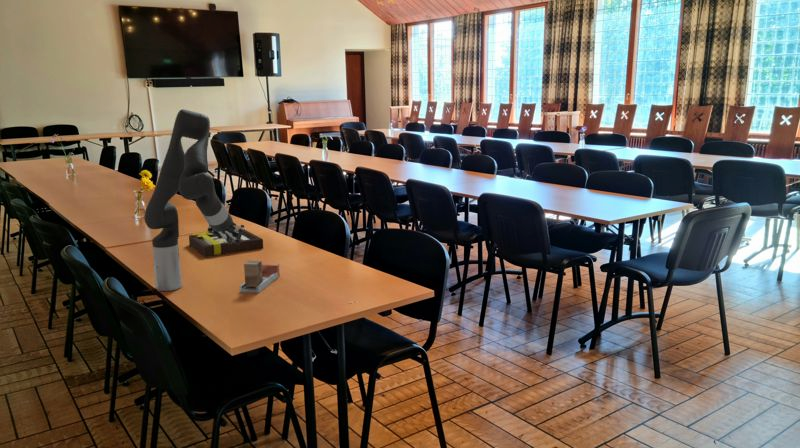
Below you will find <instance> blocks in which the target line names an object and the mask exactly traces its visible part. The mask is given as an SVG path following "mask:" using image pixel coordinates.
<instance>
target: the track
mask: <svg viewBox="0 0 800 448" xmlns="http://www.w3.org/2000/svg"><path fill="white" fill-rule="evenodd" d="M280 275H281V274H280V264H279V263H277V264H275V263H262V277H263V282H262V283H260V284H259V285H258V286H256V287H246V286H245V282H243V283H242V284H240V285H239V293H252V294H253V293H254V294H259V293H261V292H262V291H263V290H264V289H266V288H267V287H269V286H270V285H271V284H272V283H273V282H274V281H275V280H277V279H278V278H279V277H280Z"/></svg>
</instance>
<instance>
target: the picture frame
mask: <svg viewBox="0 0 800 448" xmlns="http://www.w3.org/2000/svg"><path fill="white" fill-rule="evenodd" d="M236 231H237V229H236ZM237 232H238V231H237ZM217 234H219V232H217ZM188 242H189V243H188V244H189V246H190V247H191V248H192V249H194V250H195V251H196V250H197V251H196V252H198V253H199V254H200V255H202V256H203V257H204V258H211V257H217V256H223V255H229V254H236V253H237V254H238V253H243V252H248V251H250V252H251V251H255V250H263V249H264V240H263V238H262V237H260V236H258V235H256V234H254V233H252V232H250V231H248V230H247V229H245V228H244V229H243V233H242V236H241V242H240V243H239V245H238V244H236V242H235V241H234V239H233V243H232V244H229V243H228V242H227V241H226V239H223V238H218V237H216V236H215V235H213V234H212V233H210V232H208V231H205V232H199V233H192V234H190V235H188Z"/></svg>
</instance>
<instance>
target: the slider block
mask: <svg viewBox="0 0 800 448" xmlns="http://www.w3.org/2000/svg"><path fill="white" fill-rule="evenodd" d="M262 264H263V261H262V260H253V259H252V260H251V259H249V260H247V261H246V262H245V263H244V264H243V268H244V269H243V271H244V283H245V286H246V287H256V286H258V285H259V284H260V283H262V282H263V277H262Z"/></svg>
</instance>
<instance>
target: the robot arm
mask: <svg viewBox="0 0 800 448" xmlns="http://www.w3.org/2000/svg"><path fill="white" fill-rule="evenodd" d="M173 124H174V125H173V127H172V131H171V132H172V133H171V137H170V140H169V144H168V148H167V151H166V154H165V157H164V160H163V162H162V165H161V168H160V171H159V175H158V179H157V181H156V184H155V188H154V190H153V192H152V195H151V197H150V200H149V202H148V204H147V206H146V209H145V211H144V223H145V225H146V227H148V228H149V229H151V230H160V229H162V230H161V231H160V232H159V233H158V234H157V235H156V236H154V237H153V238H152V241H151V243H152V254H153V263H154V264H153V271H154V272H153V273H154V280H155V281H154V282H155V288H156V290H157V292H169V291H175V290H178V289H181V288H182V287H183V281H182V274H181V273H182V271H181V261H180V260H181V259H180V249H179V248H180V247H179V237H180V230H179V229H180V227H179V226H180V225H179V223H180V222H179V213H178V212H179V211H178V209H177V208H176V206H175V204H174V203H172V202H170V200H171V199H172V198H173V197H175V195H177V193H178V192H179V194H180V196H181V197H182V198H183V199H185V200H188V201H191V200H192V201H193V200H195V205H196V207H197V208H198V210H199V211H200V212H201V214H202V216H203V218H204V219H205V221H206V222H207V224H208V227H207V231H208V232H210V233H212V234H213V235H215V236H216V237H218V238H223V239H226V241H227V242H228V243H229V244H232V243H233V239H234V241H235V242H236V244H238V245H239V243H240V242H241V236H242V233H243V229H245V225H243V224H241V225H237V224H236V222H235V221H233V217H232V215H231V214H230V212H229V211H228V210H227V207H226V206H225V205H224V203H223V202H222V201H221V200H220V198H219V197H218V195H217V193H216V188H215V182H214V178H213V176H211V175H210V174H209V173H208V159H207V158H208V157H207V156H208V154H207V153H208V147H209V140H210V129H211V128H210V127H211V121H210V118H209V116H208V115H206V114H205V113H204V114H203V113H200V112H197V111H193V110H192V111H191V110H188V109H182V108H181V109H180V110H179V111H178V112H177V114H176V117H175V121H174V123H173ZM183 137H184V138H187V139H191V140H196V142H194V143H193V144H192V145H190V146H189V147H188V148H187V149H186V151H185V150H184V148H183V144H182V138H183ZM236 229H237V231H238V232H237V231H236ZM217 232H219V234H217Z"/></svg>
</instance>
